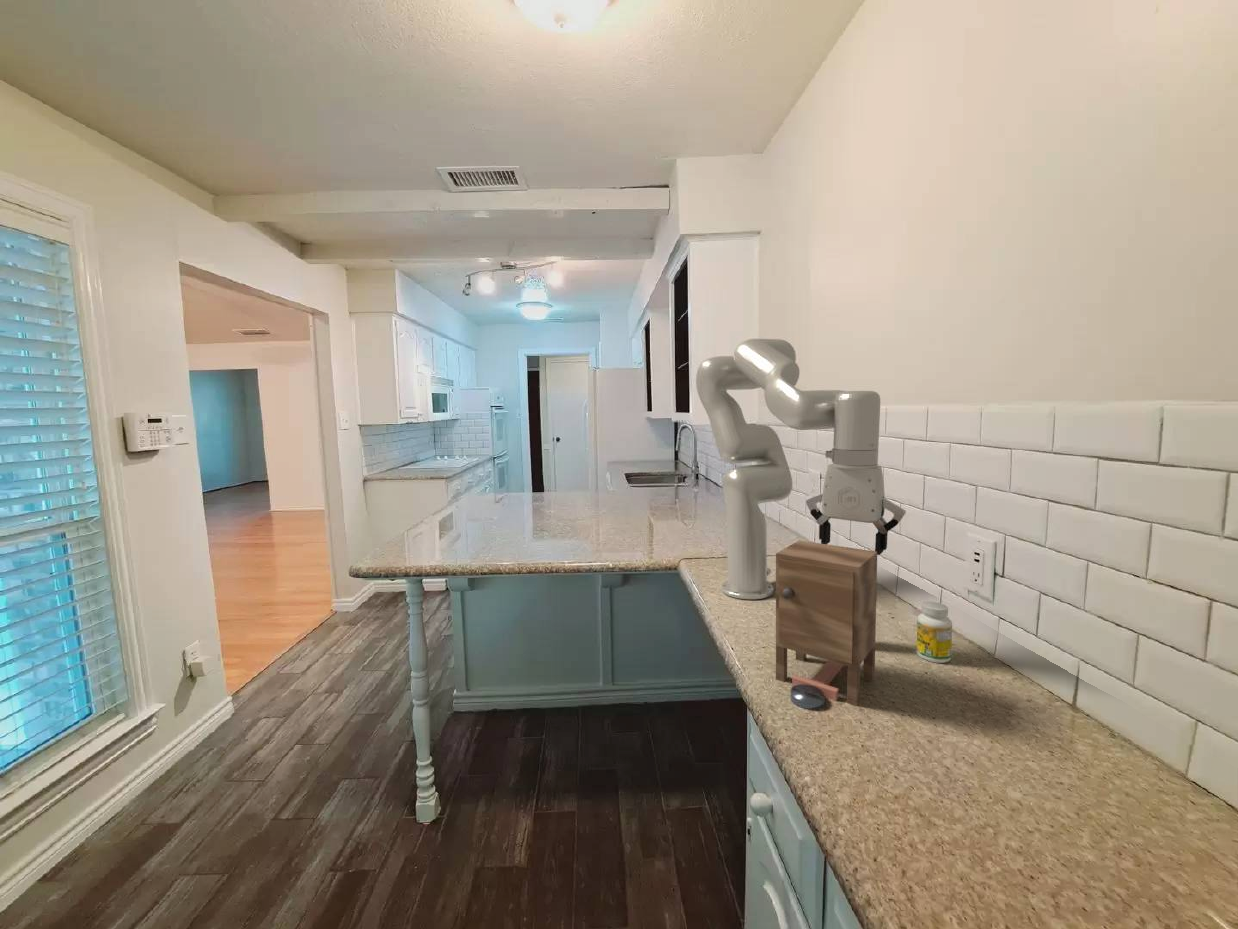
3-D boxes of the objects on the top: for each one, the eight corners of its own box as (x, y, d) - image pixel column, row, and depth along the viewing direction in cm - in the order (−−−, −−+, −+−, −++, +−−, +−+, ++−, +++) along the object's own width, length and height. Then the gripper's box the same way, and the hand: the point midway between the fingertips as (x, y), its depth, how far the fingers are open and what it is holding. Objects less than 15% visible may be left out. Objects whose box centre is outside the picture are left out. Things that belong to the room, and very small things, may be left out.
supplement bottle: (957, 663, 91) (960, 610, 90) (928, 664, 90) (930, 612, 89) (937, 648, 96) (939, 599, 95) (910, 650, 96) (911, 600, 95)
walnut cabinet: (798, 656, 95) (799, 540, 92) (874, 678, 86) (877, 551, 84) (771, 682, 86) (771, 555, 84) (853, 710, 78) (855, 570, 75)
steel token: (798, 689, 84) (798, 681, 84) (829, 700, 81) (829, 692, 81) (785, 703, 81) (785, 694, 81) (816, 715, 77) (816, 706, 77)
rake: (838, 636, 102) (838, 588, 101) (876, 646, 98) (877, 595, 97) (792, 686, 85) (792, 628, 84) (835, 701, 80) (836, 640, 79)
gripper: (800, 457, 97) (798, 545, 99) (902, 464, 86) (897, 562, 88) (815, 453, 103) (812, 536, 105) (912, 459, 91) (907, 551, 94)
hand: (851, 548), depth 97 cm, fingers open, 9 cm apart
